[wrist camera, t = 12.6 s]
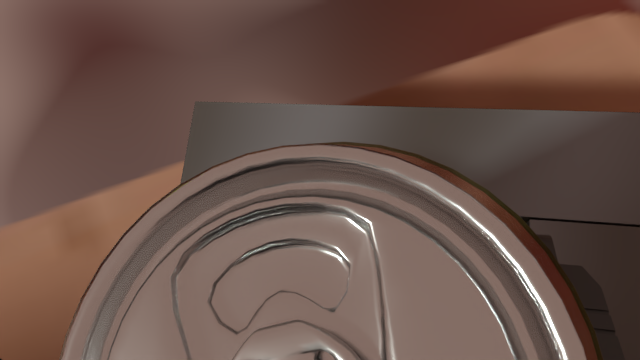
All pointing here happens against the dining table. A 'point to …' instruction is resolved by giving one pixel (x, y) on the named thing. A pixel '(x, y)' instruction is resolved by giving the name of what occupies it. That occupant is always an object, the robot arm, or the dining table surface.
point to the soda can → (330, 268)
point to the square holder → (483, 170)
